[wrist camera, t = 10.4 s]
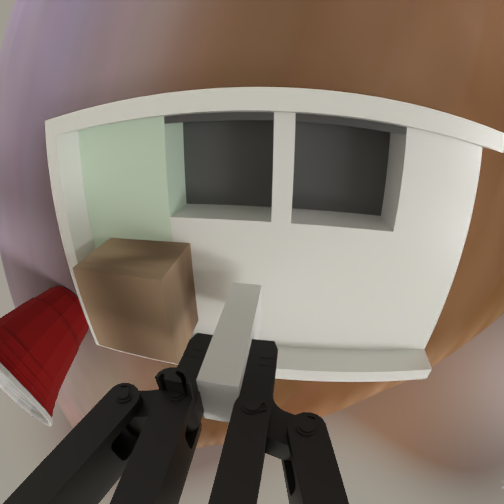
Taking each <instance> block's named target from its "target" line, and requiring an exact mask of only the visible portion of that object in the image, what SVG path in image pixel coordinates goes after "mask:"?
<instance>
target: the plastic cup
mask: <svg viewBox="0 0 504 504" xmlns="http://www.w3.org/2000/svg"><path fill="white" fill-rule="evenodd" d="M88 327H89V325H88V323H87V320H86V317H85V315H84V312H83V309H82V306H81V304H80V301H79V298H78V297H77V296H76V295H75V294H74V293H72V292H71V291H70V290H68V289H66V288H64V287H61V286H56V287H54V288H50V289H48V290H47V291H45V292H43V293H42V294H40V295H39V296H37V297H35V298H32V299H30V300H28V301H27V302H25V303H24V304H22V305H20V306H19V307H17V308H16V309H14V310H12V311H11V312H9V313H8V314H6V315H5V316H3V317H2V318H0V388H1V389H2V390H3V391H4V392H5V393H6V394H7V395H9V397H11V398H12V399H13V400H14V401H15V402H16V403H17V404H18V405H19V406H21V407H22V408H23V409H24V410H26V411H27V412H28V413H29V414H31V415H32V416H33V417H35V418H36V419H38V420H40V421H41V422H42V423H44V424H46V425H49V426H52V422H53V419H52V413H53V409H54V406H55V401H56V399H57V396H58V392H59V390H60V388H61V385H62V383H63V381H64V379H65V377H66V374H67V372H68V370H69V368H70V366H71V364H72V362H73V360H74V358H75V356H76V354H77V351H78V349H79V346H80V344H81V342H82V340H83V339H84V337H85V335H86V333H87V331H88Z"/></svg>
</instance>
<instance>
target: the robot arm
mask: <svg viewBox="0 0 504 504" xmlns="http://www.w3.org/2000/svg"><path fill="white" fill-rule="evenodd" d="M261 293H262V285H256V284H244V283H233V284H232V287H231V289H230V292H229V295H228V297H227V300H226V302H225V305H224V308H223V310H222V313H221V316H220V318H219V321H218V324H217V326H216V329H215V331H214V334H213V335H210V334H202V333H197V334H195V335H194V336H193V337H192V338H191V339H190V340H189V342H188V344H187V347H186V349H185V351H184V353H183V356H182V357H181V360H180V362H179V364H178V366H177V368H167V369H164V370H162V371H160V372H159V373H158V374H157V375H156V377H155V378H156V381H157V384H158V386H159V389H158V390H152V391H138V389H137V388H136V387H135V386H134V385H132V384H129V383H121V384H118V385H116V386H114V387H113V388H112V389H111V390H110V391H109V392H108V393H107V394H106V395H105V396H104V397H103V398H102V399H101V400H100V401H99V402H98V403H97V404H96V405H95V406H94V408H93V409H92V410H91V411H90V412H89V413H88V414H87V415H86V416H85V417H84V418H83V419H82V420H81V421H80V422H79V423H78V424H77V425H76V426H75V427H74V429H73V430H72V431H71V432H70V433H69V434H68V435H67V436H66V437H65V438H64V439H63V440H62V441H61V442H60V443H59V445H57V447H56V448H55V449H54V450H53V451H52V452H51V453H50V454H49V455H48V456H47V457H46V458H45V459H44V460H43V461H42V462H41V463H40V465H39V466H38V467H37V468H36V469H35V470H34V471H33V472H32V473H31V474H30V475H29V476H28V477H27V478H26V480H25V481H24V482H23V483H22V484H21V485H20V486H19V487H18V488H17V489H16V490H15V491H14V492H13V493H12V494H11V496H10V497H9V498H8V499H7V500H6V501H5V502H4V503H3V504H98V503H99V502H100V501H101V500H102V499H103V497H104V496H105V495H106V494H107V492H108V491H109V490H110V489H111V488H112V486H113V485H114V484H115V483H116V481H117V480H118V479H119V478H120V476H121V475H122V476H121V478H120V481H119V483H118V486H117V488H116V490H115V493H114V495H113V497H112V500H111V502H110V504H178V503H179V500H180V497H181V494H182V490H183V487H184V484H185V481H186V477H187V474H188V471H189V468H190V464H191V461H192V458H193V455H194V451H195V449H196V445H197V442H198V439H199V436H200V433H201V428H202V424H201V419H202V416H203V413H204V417H205V418H207V419H212V420H218V421H224V422H229V426H228V430H227V434H226V438H225V441H224V445H223V449H222V453H221V457H220V461H219V465H218V469H217V473H216V477H215V480H214V484H213V488H212V492H211V495H210V499H209V503H208V504H257V499H258V493H259V487H260V482H261V475H262V469H263V463H264V457H265V453H267V454H269V455H272V456H274V457H277V458H279V459H281V460H282V465H283V471H284V477H285V482H286V488H287V493H288V498H289V504H349V503H348V499H347V495H346V492H345V488H344V485H343V482H342V478H341V474H340V471H339V468H338V464H337V461H336V458H335V454H334V450H333V447H332V444H331V440H330V437H329V434H328V431H327V427H326V424H325V422H324V421H323V419H322V418H321V417H319V416H318V415H316V414H313V413H305V412H303V413H300V414H297V415H293V414H291V413H288V412H285V411H283V410H281V409H280V408H279V407H278V406H277V405H276V404H275V402H274V400H273V392H274V384H275V375H276V366H277V357H278V348H277V346H276V344H275V341H268V340H258V335H259V330H260V324H261Z"/></svg>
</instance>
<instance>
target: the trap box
mask: <svg viewBox="0 0 504 504" xmlns="http://www.w3.org/2000/svg"><path fill="white" fill-rule="evenodd" d="M45 134H46V148H47V158H48V167H49V175H50V182H51V189H52V195H53V201H54V206H55V212H56V217H57V221H58V226H59V231H60V235H61V239H62V243H63V247H64V251H65V255H66V259H67V262H68V266H69V269H70V273H71V276H72V279H73V282H74V286H75V289H76V292H77V295H78V298H79V301H80V304H81V306H82V309H83V312H84V315H85V317H86V320H87V323H88V325H89V328H90V330H91V333H92V335H93V338H94V340H95V342H96V345H99V343H98V341H97V338H96V336H95V333H94V331H93V328H92V326H91V323H90V320H89V318H88V315H87V312H86V309H85V306H84V304H83V301H82V298H81V295H80V292H79V289H78V285H77V282H76V279H75V276H74V272H73V269H72V268H73V267H74V266H75V265H77V264H78V263H79V262H80V261H81V260H83V259H84V258H85V257H86V256H88V255H89V254H90V253H91V252H93V251H94V250H95V249H97V248H98V247H99V246H100V245H102V244H103V243H104V242H106V241H107V240H108V239H110V238H123V239H138V240H153V241H168V242H183V243H190V246H191V257H192V267H193V277H194V286H195V295H196V304H197V312H198V323H197V325H196V327H195V329H194V331H193V333H192V336H191V338H192V337H193V336H194V335H195V334H197V333H202V334H210V335H213V334H214V331H215V329H216V326H217V324H218V321H219V318H220V316H221V313H222V310H223V308H224V305H225V302H226V300H227V297H228V295H229V292H230V289H231V287H232V284H233V283H244V284H256V285H262V293H261V324H260V330H259V335H258V340H268V341H275V344H276V346H277V348H278V357H277V366H276V375H275V378H277V379H290V380H306V381H331V382H376V381H400V380H415V379H426V378H427V376H428V375H429V373H430V372H431V370H432V368H431V365H430V362H429V360H428V357H427V355H426V352H425V350H424V349H425V347H426V345H427V343H428V340H429V338H430V336H431V334H432V332H433V330H434V327H435V325H436V323H437V320H438V318H439V316H440V313H441V311H442V308H443V306H444V303H445V301H446V298H447V296H448V293H449V290H450V288H451V285H452V282H453V279H454V276H455V273H456V270H457V267H458V264H459V261H460V257H461V254H462V251H463V247H464V244H465V240H466V236H467V232H468V228H469V224H470V220H471V216H472V211H473V207H474V202H475V196H476V191H477V185H478V179H479V172H480V165H481V157H482V147H484V148H488V149H491V150H495V151H498V152H502V153H503V150H504V133H502V132H500V131H497V130H495V129H492V128H490V127H487V126H484V125H482V124H479V123H476V122H473V121H470V120H467V119H464V118H461V117H458V116H455V115H452V114H448V113H445V112H441V111H438V110H434V109H430V108H427V107H423V106H419V105H414V104H410V103H406V102H401V101H396V100H391V99H386V98H380V97H375V96H368V95H362V94H355V93H347V92H339V91H330V90H319V89H306V88H287V87H230V88H211V89H198V90H188V91H178V92H170V93H162V94H155V95H149V96H143V97H137V98H131V99H126V100H121V101H116V102H111V103H107V104H103V105H98V106H94V107H90V108H86V109H82V110H79V111H75V112H72V113H68V114H65V115H62V116H58V117H55V118H52V119H49V120H46V121H45ZM191 338H190V339H191ZM99 346H101V345H99ZM103 347H105V346H103ZM186 347H187V346H186ZM106 348H108V347H106ZM110 349H112V348H110ZM113 350H115V349H113ZM117 351H119V350H117ZM121 352H123V351H121ZM125 353H127V352H125ZM128 354H131V353H128ZM132 355H135V354H132ZM136 356H139V355H136ZM182 356H183V355H182ZM141 357H143V356H141ZM145 358H147V357H145ZM149 359H152V358H149ZM154 360H156V359H154ZM180 360H181V359H180ZM158 361H161V360H158ZM163 362H165V361H163ZM167 363H170V362H167ZM172 364H175V363H172ZM177 365H178V364H177Z"/></svg>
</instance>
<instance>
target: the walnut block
mask: <svg viewBox="0 0 504 504" xmlns="http://www.w3.org/2000/svg"><path fill="white" fill-rule="evenodd" d="M72 269H73V272H74V276H75V279H76V282H77V285H78V289H79V292H80V295H81V298H82V301H83V304H84V306H85V309H86V312H87V315H88V318H89V320H90V323H91V326H92V328H93V331H94V333H95V336H96V338H97V341H98V343H99V345H101V346H105V347H108V348H112V349H115V350H119V351H123V352H127V353H131V354H135V355H139V356H143V357H147V358H152V359H156V360H161V361H165V362H170V363H175V364H179V362H180V359H181V357H182V355H183V353H184V351H185V349H186V346H187V344H188V342H189V340H190V338H191V336H192V333H193V331H194V329H195V327H196V325H197V323H198V312H197V304H196V295H195V286H194V277H193V267H192V257H191V246H190V243H183V242H168V241H153V240H138V239H123V238H110V239H108V240H107V241H106V242H104V243H103V244H102V245H100V246H99V247H98V248H97V249H95V250H94V251H93V252H91V253H90V254H89V255H88V256H86V257H85V258H84V259H83V260H81V261H80V262H79V263H78V264H77V265H75V266H74V267H73V268H72Z"/></svg>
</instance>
